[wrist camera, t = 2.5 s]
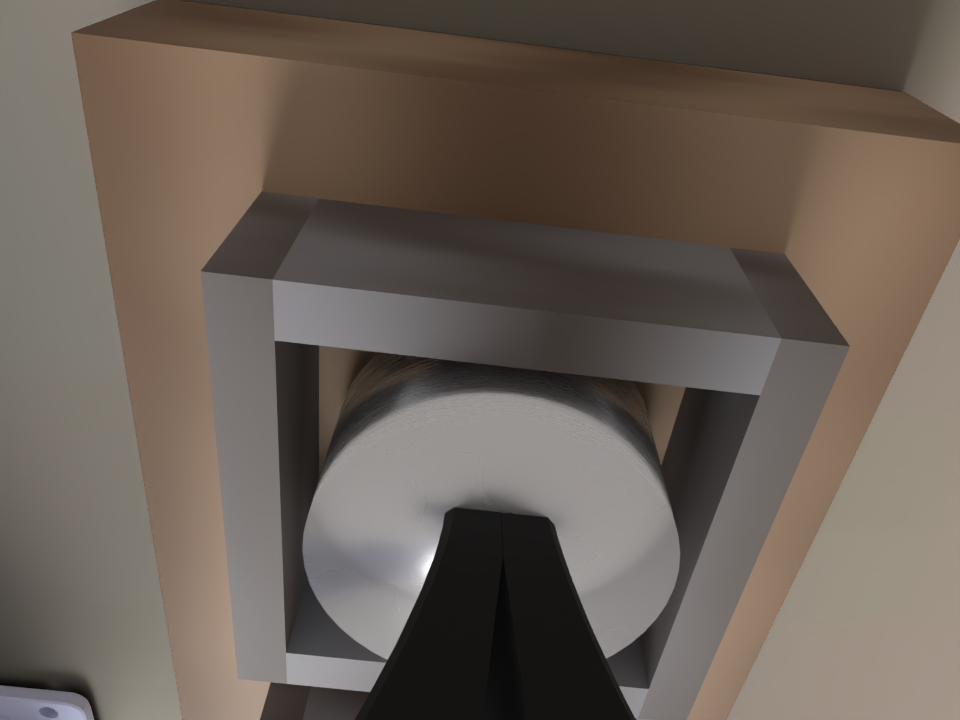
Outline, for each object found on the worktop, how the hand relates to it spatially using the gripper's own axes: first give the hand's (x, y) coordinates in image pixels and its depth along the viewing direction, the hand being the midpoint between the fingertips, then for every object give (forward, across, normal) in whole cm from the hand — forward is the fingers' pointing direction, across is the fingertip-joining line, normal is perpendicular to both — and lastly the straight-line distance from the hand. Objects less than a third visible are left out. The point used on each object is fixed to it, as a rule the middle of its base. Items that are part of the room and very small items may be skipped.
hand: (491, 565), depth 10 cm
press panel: (+6, 0, +5) cm, 8 cm away
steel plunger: (+3, 0, 0) cm, 3 cm away
